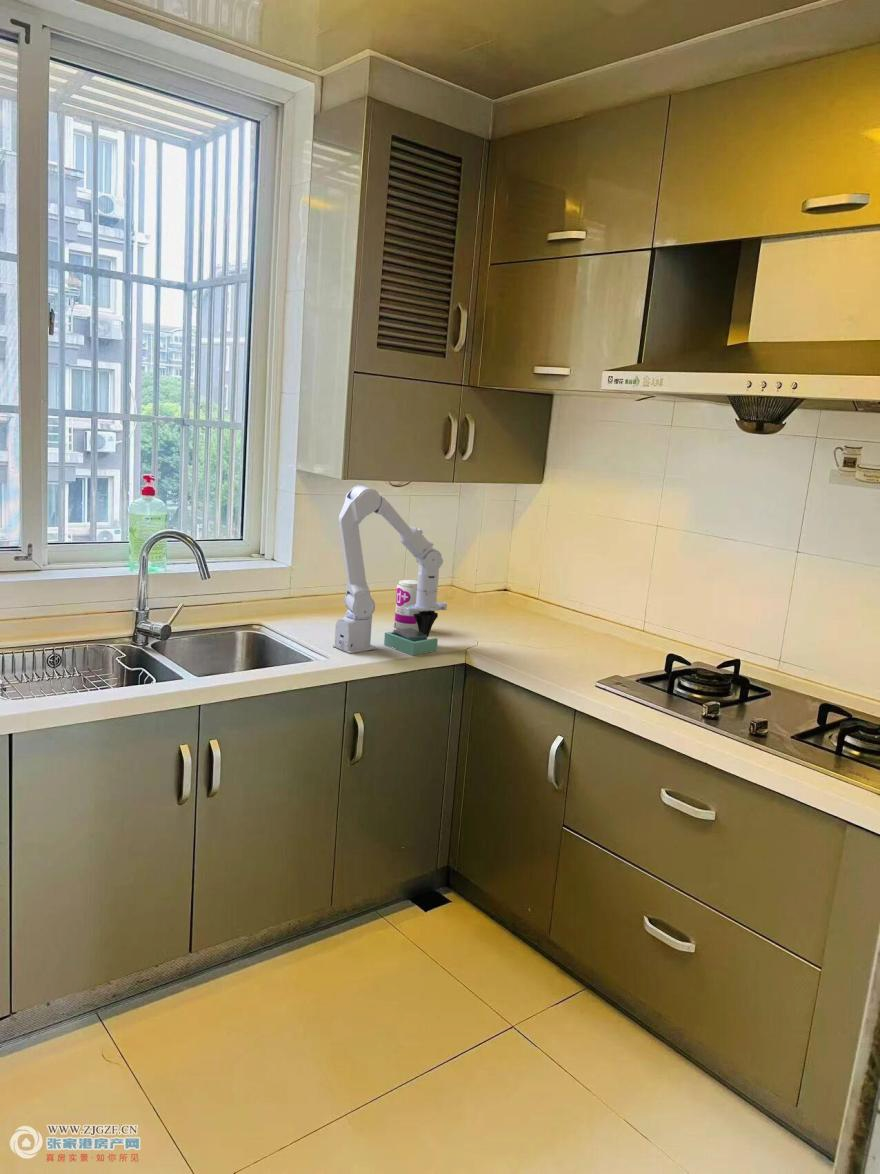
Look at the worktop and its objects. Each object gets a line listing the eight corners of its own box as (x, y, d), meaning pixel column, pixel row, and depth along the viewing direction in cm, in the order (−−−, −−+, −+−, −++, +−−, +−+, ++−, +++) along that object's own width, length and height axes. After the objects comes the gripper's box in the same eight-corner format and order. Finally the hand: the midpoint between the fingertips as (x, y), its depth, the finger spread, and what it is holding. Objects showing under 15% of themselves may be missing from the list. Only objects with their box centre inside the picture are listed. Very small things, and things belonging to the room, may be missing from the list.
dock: (412, 655, 238) (413, 643, 237) (384, 644, 246) (384, 632, 245) (436, 651, 244) (437, 638, 243) (408, 640, 252) (408, 628, 252)
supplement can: (405, 635, 258) (408, 585, 255) (388, 628, 264) (391, 579, 261) (426, 632, 263) (430, 583, 260) (410, 625, 269) (413, 577, 266)
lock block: (408, 653, 241) (409, 637, 240) (392, 645, 247) (393, 629, 246) (426, 650, 244) (427, 635, 243) (410, 643, 251) (411, 627, 250)
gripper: (417, 595, 237) (414, 644, 240) (455, 590, 247) (452, 637, 250) (400, 590, 242) (397, 637, 245) (438, 585, 252) (435, 631, 255)
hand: (423, 637), depth 248 cm, fingers closed
